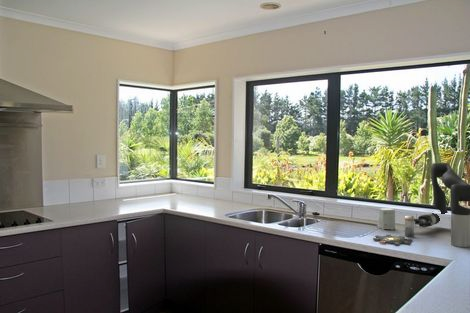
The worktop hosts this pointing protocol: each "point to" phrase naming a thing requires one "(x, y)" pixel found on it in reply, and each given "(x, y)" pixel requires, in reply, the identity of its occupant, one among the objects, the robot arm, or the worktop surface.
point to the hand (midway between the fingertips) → (412, 223)
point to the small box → (387, 218)
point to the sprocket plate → (393, 240)
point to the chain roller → (409, 226)
